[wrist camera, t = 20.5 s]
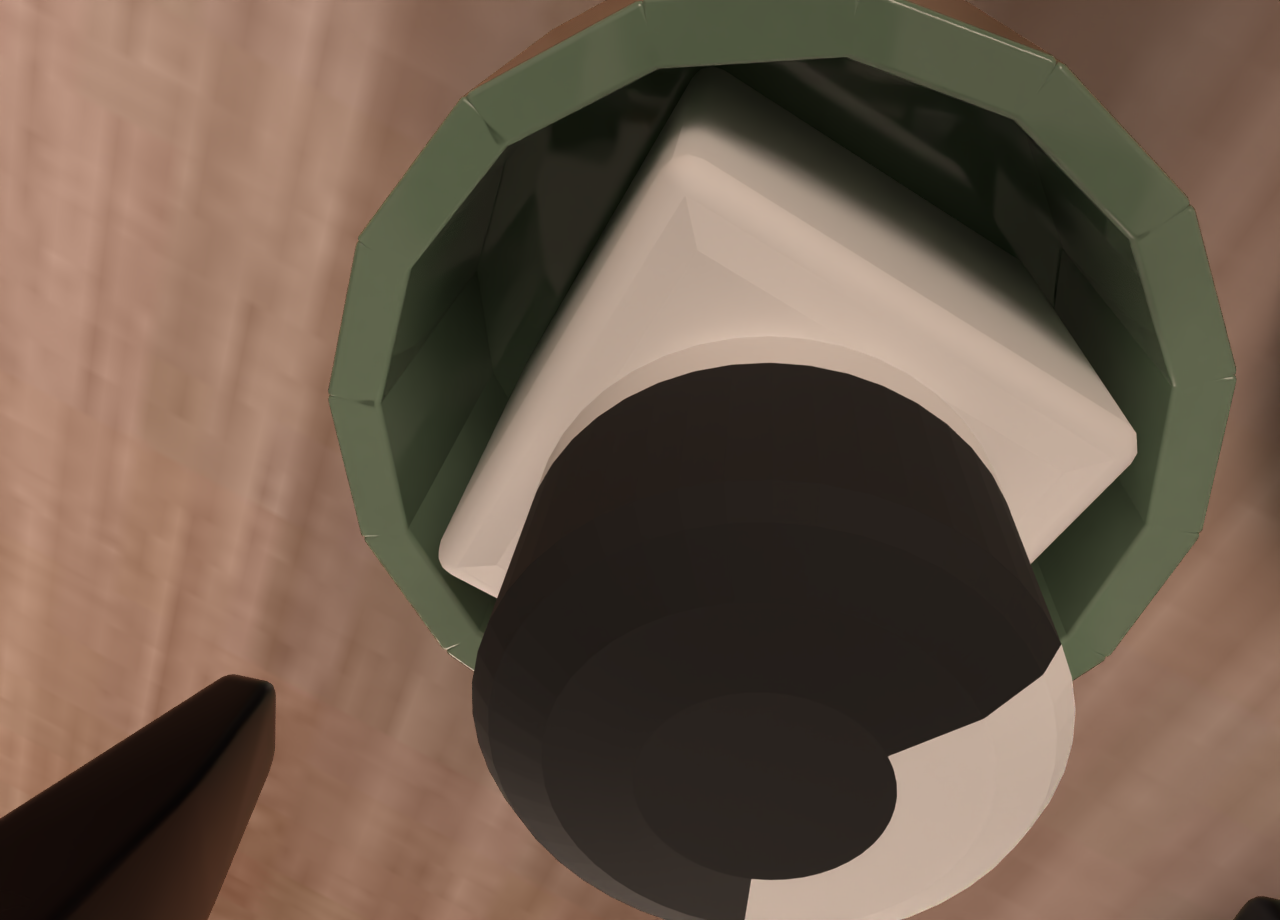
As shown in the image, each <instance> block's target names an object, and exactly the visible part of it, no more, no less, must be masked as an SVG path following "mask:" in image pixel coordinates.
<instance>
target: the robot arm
mask: <svg viewBox="0 0 1280 920" xmlns="http://www.w3.org/2000/svg"><path fill="white" fill-rule="evenodd" d="M275 710H276V695H275V690H274V687H273V685H272V684H271V683H269V682H267V681H263V680H259V679H254V678H249V677H245V676H240V675H235V674H232V675H227V676H224V677H222V678H220V679H218V680H217V681H215V682H214V683H212V684H211V685H209V686H207V687H206V688H204V689H203V690H201V691H200V692H198V693H196V694H195V695H193V696H192V697H190V698H189V699H187V700H185V701H184V702H182V703H181V704H179V705H178V706H176V707H174V708H173V709H171V710H170V711H168V712H167V713H165V714H163V715H162V716H160V717H159V718H157V719H156V720H154V721H153V722H151V723H149V724H148V725H146V726H145V727H143V728H142V729H140V730H138V731H137V732H135V733H134V734H132V735H131V736H129V737H127V738H126V739H124V740H123V741H121V742H120V743H118V744H116V745H115V746H113V747H112V748H110V749H109V750H107V751H105V752H104V753H102V754H101V755H99V756H98V757H96V758H94V759H93V760H91V761H90V762H88V763H87V764H85V765H84V766H82V767H80V768H79V769H77V770H76V771H74V772H73V773H71V774H69V775H68V776H66V777H65V778H63V779H62V780H60V781H58V782H57V783H55V784H54V785H52V786H51V787H49V788H47V789H46V790H44V791H43V792H41V793H40V794H38V795H36V796H35V797H33V798H32V799H30V800H29V801H27V802H25V803H24V804H22V805H21V806H19V807H18V808H16V809H15V810H13V811H11V812H10V813H8V814H7V815H5V816H4V817H2V818H0V920H208V917H209V915H210V913H211V910H212V908H213V906H214V904H215V901H216V899H217V896H218V894H219V891H220V889H221V887H222V884H223V882H224V879H225V877H226V875H227V872H228V870H229V867H230V865H231V863H232V860H233V858H234V855H235V853H236V850H237V848H238V846H239V843H240V841H241V838H242V836H243V834H244V831H245V829H246V826H247V824H248V822H249V819H250V817H251V814H252V812H253V810H254V807H255V805H256V802H257V800H258V797H259V795H260V793H261V790H262V788H263V785H264V783H265V781H266V778H267V776H268V773H269V771H270V767H271V764H272V761H273V756H274V751H275ZM1233 920H1280V900H1279V899H1274V898H1269V897H1265V896H1257V897H1255V898H1252V899H1250V900H1249V901H1248V902H1247V903H1246V904H1245V905H1244V906H1243V907H1242V909H1241V910H1240V911H1239V913H1238V914H1237V915H1236V917H1235V918H1234V919H1233Z"/></svg>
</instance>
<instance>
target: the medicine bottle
mask: <svg viewBox="0 0 1280 920" xmlns="http://www.w3.org/2000/svg"><path fill="white" fill-rule="evenodd" d="M1136 455H1137V436H1136V432H1135V431H1134V429H1133V428H1132V426H1131V425H1130V423H1129V422H1128V420H1127V419H1126V417H1125V416H1124V414H1123V413H1122V411H1121V410H1120V408H1119V407H1118V405H1117V404H1116V402H1115V401H1114V399H1113V398H1112V396H1111V395H1110V393H1109V392H1108V390H1107V389H1106V387H1105V386H1104V384H1103V382H1102V381H1101V379H1100V378H1099V376H1098V375H1097V373H1096V372H1095V370H1094V369H1093V367H1092V366H1091V364H1090V363H1089V361H1088V360H1087V358H1086V357H1085V355H1084V354H1083V352H1082V351H1081V349H1080V348H1079V346H1078V345H1077V343H1076V342H1075V340H1074V339H1073V337H1072V336H1071V334H1070V333H1069V331H1068V330H1067V328H1066V327H1065V325H1064V324H1063V322H1062V321H1061V319H1060V318H1059V316H1058V315H1057V313H1056V312H1055V310H1054V309H1053V307H1052V306H1051V304H1050V303H1049V301H1048V300H1047V298H1046V297H1045V295H1044V294H1043V292H1042V291H1041V289H1040V288H1039V286H1038V285H1037V283H1036V282H1035V280H1034V279H1033V277H1032V276H1031V274H1030V273H1029V271H1028V270H1027V268H1026V267H1025V266H1024V265H1023V263H1022V262H1021V261H1020V260H1018V259H1016V258H1015V257H1013V256H1012V255H1010V254H1009V253H1007V252H1006V251H1004V250H1002V249H1001V248H999V247H998V246H996V245H995V244H993V243H992V242H990V241H989V240H987V239H985V238H984V237H982V236H981V235H979V234H978V233H976V232H975V231H973V230H971V229H970V228H968V227H967V226H965V225H964V224H962V223H961V222H959V221H957V220H956V219H954V218H953V217H951V216H950V215H948V214H947V213H945V212H943V211H942V210H940V209H939V208H937V207H936V206H934V205H933V204H931V203H929V202H928V201H926V200H925V199H923V198H922V197H920V196H919V195H917V194H915V193H914V192H912V191H911V190H909V189H908V188H906V187H905V186H903V185H902V184H900V183H898V182H897V181H895V180H894V179H892V178H891V177H889V176H888V175H886V174H884V173H883V172H881V171H880V170H878V169H877V168H875V167H874V166H872V165H870V164H869V163H867V162H866V161H864V160H863V159H861V158H860V157H858V156H856V155H855V154H853V153H852V152H850V151H849V150H847V149H846V148H844V147H842V146H841V145H839V144H838V143H836V142H835V141H833V140H832V139H830V138H829V137H827V136H825V135H824V134H822V133H821V132H819V131H818V130H816V129H815V128H813V127H811V126H810V125H808V124H807V123H805V122H804V121H802V120H801V119H799V118H797V117H796V116H794V115H793V114H791V113H790V112H788V111H787V110H785V109H783V108H782V107H780V106H779V105H777V104H776V103H774V102H773V101H771V100H769V99H768V98H766V97H765V96H763V95H762V94H760V93H759V92H757V91H755V90H754V89H752V88H751V87H749V86H748V85H746V84H745V83H743V82H742V81H740V80H738V79H737V78H735V77H734V76H732V75H731V74H729V73H728V72H726V71H724V70H723V69H720V68H717V67H713V66H710V67H706V68H702V69H700V70H699V71H698V72H697V73H696V74H695V75H694V76H693V77H692V79H691V81H690V82H689V84H688V86H687V88H686V89H685V91H684V93H683V95H682V96H681V98H680V100H679V101H678V103H677V105H676V107H675V108H674V110H673V112H672V113H671V115H670V117H669V119H668V120H667V122H666V124H665V126H664V127H663V129H662V131H661V132H660V134H659V136H658V138H657V139H656V141H655V143H654V144H653V146H652V148H651V150H650V151H649V153H648V155H647V157H646V158H645V160H644V162H643V163H642V165H641V167H640V169H639V170H638V172H637V174H636V175H635V177H634V179H633V181H632V182H631V184H630V186H629V188H628V189H627V191H626V193H625V194H624V196H623V198H622V200H621V201H620V203H619V205H618V206H617V208H616V210H615V212H614V213H613V215H612V217H611V219H610V220H609V222H608V224H607V225H606V227H605V229H604V231H603V232H602V234H601V236H600V237H599V239H598V241H597V243H596V244H595V246H594V248H593V250H592V251H591V253H590V255H589V256H588V258H587V260H586V262H585V263H584V265H583V267H582V268H581V270H580V272H579V274H578V275H577V277H576V279H575V281H574V282H573V284H572V286H571V287H570V289H569V291H568V293H567V294H566V296H565V298H564V299H563V301H562V303H561V305H560V306H559V308H558V310H557V312H556V313H555V315H554V317H553V318H552V320H551V322H550V324H549V325H548V327H547V329H546V330H545V332H544V334H543V336H542V337H541V339H540V341H539V343H538V344H537V346H536V348H535V349H534V351H533V353H532V355H531V356H530V358H529V360H528V361H527V363H526V365H525V367H524V369H523V372H522V374H521V376H520V378H519V380H518V382H517V384H516V386H515V388H514V390H513V392H512V394H511V396H510V398H509V400H508V403H507V405H506V407H505V409H504V411H503V413H502V415H501V417H500V419H499V421H498V423H497V425H496V427H495V429H494V432H493V434H492V436H491V438H490V440H489V442H488V444H487V446H486V448H485V450H484V452H483V454H482V456H481V458H480V460H479V463H478V465H477V467H476V469H475V471H474V473H473V475H472V477H471V479H470V481H469V483H468V485H467V487H466V489H465V492H464V494H463V496H462V498H461V500H460V502H459V504H458V506H457V508H456V510H455V512H454V514H453V516H452V518H451V521H450V523H449V525H448V527H447V529H446V531H445V533H444V535H443V537H442V539H441V542H440V547H439V560H440V563H441V565H442V567H443V568H444V569H445V570H446V571H447V572H449V573H450V574H451V575H453V576H455V577H457V578H459V579H461V580H463V581H465V582H467V583H469V584H470V585H472V586H474V587H476V588H478V589H480V590H482V591H484V592H486V593H488V594H490V595H492V596H494V597H496V598H497V600H496V603H495V605H494V608H493V611H492V613H491V616H490V619H489V622H488V624H487V627H486V630H485V633H484V635H483V638H482V641H481V643H480V646H479V649H478V652H477V657H476V663H475V669H474V675H473V680H472V704H473V717H474V722H475V727H476V733H477V738H478V743H479V745H480V748H481V751H482V753H483V756H484V758H485V761H486V764H487V766H488V769H489V771H490V773H491V775H492V777H493V778H494V780H495V782H496V784H497V785H498V787H499V789H500V791H501V792H502V794H503V796H504V798H505V799H506V800H507V802H508V803H509V804H510V806H511V807H512V809H513V810H514V811H515V813H516V814H517V815H518V817H519V818H520V819H521V820H522V822H523V823H524V824H525V826H526V827H527V828H528V829H529V831H530V832H531V833H532V835H533V836H534V837H535V838H536V840H537V841H538V842H539V843H541V844H542V845H543V846H544V847H545V848H546V849H547V850H548V851H549V852H550V853H551V854H552V855H553V856H554V857H555V858H556V859H557V860H558V861H559V862H560V863H562V864H563V865H564V866H566V867H567V868H568V869H569V870H571V871H572V872H573V873H575V874H576V875H577V876H579V877H580V878H581V879H582V880H584V881H586V882H587V883H589V884H591V885H592V886H594V887H596V888H597V889H599V890H601V891H602V892H604V893H605V894H607V895H609V896H610V897H612V898H615V899H617V900H619V901H621V902H623V903H625V904H627V905H629V906H632V907H634V908H636V909H638V910H640V911H643V912H645V913H648V914H651V915H654V916H657V917H659V918H662V919H665V920H902V919H905V918H908V917H911V916H913V915H915V914H918V913H920V912H922V911H925V910H927V909H929V908H932V907H934V906H936V905H939V904H941V903H942V902H944V901H946V900H948V899H949V898H951V897H953V896H955V895H956V894H958V893H960V892H961V891H963V890H965V889H967V888H968V887H970V886H971V885H972V884H974V883H975V882H976V881H978V880H979V879H980V878H982V877H983V876H984V875H986V874H987V873H988V872H989V871H991V870H992V869H993V868H995V867H996V866H997V865H998V864H999V863H1000V861H1001V860H1002V859H1003V858H1004V857H1005V856H1006V855H1007V854H1008V853H1009V852H1010V851H1011V850H1012V849H1013V848H1014V847H1015V846H1016V845H1017V844H1018V843H1019V842H1020V840H1021V839H1022V838H1023V837H1024V836H1025V835H1026V833H1027V832H1028V831H1029V830H1030V829H1031V827H1032V826H1033V824H1034V823H1035V822H1036V820H1037V819H1038V818H1039V816H1040V815H1041V813H1042V812H1043V811H1044V809H1045V808H1046V806H1047V805H1048V804H1049V802H1050V800H1051V798H1052V796H1053V794H1054V792H1055V790H1056V788H1057V786H1058V784H1059V782H1060V780H1061V778H1062V776H1063V774H1064V771H1065V768H1066V764H1067V761H1068V757H1069V754H1070V750H1071V747H1072V743H1073V733H1074V722H1075V701H1074V692H1073V683H1072V676H1071V673H1070V670H1069V666H1068V663H1067V660H1066V657H1065V654H1064V651H1063V647H1062V644H1061V642H1060V639H1059V636H1058V634H1057V631H1056V629H1055V626H1054V623H1053V621H1052V618H1051V616H1050V613H1049V610H1048V608H1047V605H1046V603H1045V600H1044V598H1043V595H1042V592H1041V590H1040V587H1039V585H1038V582H1037V579H1036V577H1035V574H1034V572H1033V569H1032V566H1031V563H1032V562H1033V561H1034V560H1035V559H1036V558H1037V557H1038V556H1039V555H1040V554H1041V553H1042V552H1043V551H1044V550H1045V549H1046V548H1047V547H1048V546H1049V545H1050V544H1051V543H1052V542H1053V541H1054V540H1055V539H1056V538H1057V537H1058V536H1059V535H1060V534H1061V533H1062V532H1063V531H1064V530H1065V529H1066V528H1067V527H1068V526H1069V525H1070V524H1071V523H1072V522H1073V521H1074V520H1075V519H1076V518H1077V517H1078V516H1079V515H1080V514H1081V513H1082V512H1083V511H1084V510H1085V509H1086V508H1087V507H1088V506H1089V505H1090V504H1091V503H1092V502H1093V501H1094V500H1095V499H1096V498H1097V497H1098V496H1099V495H1100V494H1101V493H1102V492H1103V491H1104V490H1105V489H1106V488H1107V487H1108V486H1109V485H1110V484H1111V483H1112V482H1113V481H1114V480H1115V479H1116V478H1117V477H1118V476H1119V475H1120V474H1121V473H1122V472H1123V471H1124V470H1125V469H1126V468H1127V467H1128V466H1129V465H1130V464H1131V463H1132V461H1133V460H1134V458H1135V456H1136Z"/></svg>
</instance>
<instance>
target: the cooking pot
mask: <svg viewBox="0 0 1280 920" xmlns="http://www.w3.org/2000/svg"><path fill="white" fill-rule="evenodd" d="M710 66H713V67H717V68H720V69H723V70H724V71H726V72H728V73H729V74H731V75H732V76H734V77H735V78H737V79H738V80H740V81H742V82H743V83H745V84H746V85H748V86H749V87H751V88H752V89H754V90H755V91H757V92H759V93H760V94H762V95H763V96H765V97H766V98H768V99H769V100H771V101H773V102H774V103H776V104H777V105H779V106H780V107H782V108H783V109H785V110H787V111H788V112H790V113H791V114H793V115H794V116H796V117H797V118H799V119H801V120H802V121H804V122H805V123H807V124H808V125H810V126H811V127H813V128H815V129H816V130H818V131H819V132H821V133H822V134H824V135H825V136H827V137H829V138H830V139H832V140H833V141H835V142H836V143H838V144H839V145H841V146H842V147H844V148H846V149H847V150H849V151H850V152H852V153H853V154H855V155H856V156H858V157H860V158H861V159H863V160H864V161H866V162H867V163H869V164H870V165H872V166H874V167H875V168H877V169H878V170H880V171H881V172H883V173H884V174H886V175H888V176H889V177H891V178H892V179H894V180H895V181H897V182H898V183H900V184H902V185H903V186H905V187H906V188H908V189H909V190H911V191H912V192H914V193H915V194H917V195H919V196H920V197H922V198H923V199H925V200H926V201H928V202H929V203H931V204H933V205H934V206H936V207H937V208H939V209H940V210H942V211H943V212H945V213H947V214H948V215H950V216H951V217H953V218H954V219H956V220H957V221H959V222H961V223H962V224H964V225H965V226H967V227H968V228H970V229H971V230H973V231H975V232H976V233H978V234H979V235H981V236H982V237H984V238H985V239H987V240H989V241H990V242H992V243H993V244H995V245H996V246H998V247H999V248H1001V249H1002V250H1004V251H1006V252H1007V253H1009V254H1010V255H1012V256H1013V257H1015V258H1016V259H1018V260H1020V261H1021V262H1022V263H1023V265H1024V266H1025V267H1026V268H1027V270H1028V271H1029V273H1030V274H1031V276H1032V277H1033V279H1034V280H1035V282H1036V283H1037V285H1038V286H1039V288H1040V289H1041V291H1042V292H1043V294H1044V295H1045V297H1046V298H1047V300H1048V301H1049V303H1050V304H1051V306H1052V307H1053V309H1054V310H1055V312H1056V313H1057V315H1058V316H1059V318H1060V319H1061V321H1062V322H1063V324H1064V325H1065V327H1066V328H1067V330H1068V331H1069V333H1070V334H1071V336H1072V337H1073V339H1074V340H1075V342H1076V343H1077V345H1078V346H1079V348H1080V349H1081V351H1082V352H1083V354H1084V355H1085V357H1086V358H1087V360H1088V361H1089V363H1090V364H1091V366H1092V367H1093V369H1094V370H1095V372H1096V373H1097V375H1098V376H1099V378H1100V379H1101V381H1102V382H1103V384H1104V386H1105V387H1106V389H1107V390H1108V392H1109V393H1110V395H1111V396H1112V398H1113V399H1114V401H1115V402H1116V404H1117V405H1118V407H1119V408H1120V410H1121V411H1122V413H1123V414H1124V416H1125V417H1126V419H1127V420H1128V422H1129V423H1130V425H1131V426H1132V428H1133V429H1134V431H1135V432H1136V436H1137V455H1136V456H1135V458H1134V460H1133V461H1132V463H1131V464H1130V465H1129V466H1128V467H1127V468H1126V469H1125V470H1124V471H1123V472H1122V473H1121V474H1120V475H1119V476H1118V477H1117V478H1116V479H1115V480H1114V481H1113V482H1112V483H1111V484H1110V485H1109V486H1108V487H1107V488H1106V489H1105V490H1104V491H1103V492H1102V493H1101V494H1100V495H1099V496H1098V497H1097V498H1096V499H1095V500H1094V501H1093V502H1092V503H1091V504H1090V505H1089V506H1088V507H1087V508H1086V509H1085V510H1084V511H1083V512H1082V513H1081V514H1080V515H1079V516H1078V517H1077V518H1076V519H1075V520H1074V521H1073V522H1072V523H1071V524H1070V525H1069V526H1068V527H1067V528H1066V529H1065V530H1064V531H1063V532H1062V533H1061V534H1060V535H1059V536H1058V537H1057V538H1056V539H1055V540H1054V541H1053V542H1052V543H1051V544H1050V545H1049V546H1048V547H1047V548H1046V549H1045V550H1044V551H1043V552H1042V553H1041V554H1040V555H1039V556H1038V557H1037V558H1036V559H1035V560H1034V561H1033V562H1032V563H1031V566H1032V569H1033V572H1034V574H1035V577H1036V579H1037V582H1038V585H1039V587H1040V590H1041V592H1042V595H1043V598H1044V600H1045V603H1046V605H1047V608H1048V610H1049V613H1050V616H1051V618H1052V621H1053V623H1054V626H1055V629H1056V631H1057V634H1058V636H1059V639H1060V642H1061V644H1062V647H1063V651H1064V654H1065V657H1066V660H1067V663H1068V666H1069V670H1070V673H1071V676H1072V681H1073V680H1075V679H1076V678H1078V677H1080V676H1081V675H1083V674H1084V673H1086V672H1087V671H1089V670H1090V669H1092V668H1094V667H1095V666H1097V665H1098V664H1100V663H1101V662H1103V661H1104V660H1105V657H1108V656H1110V655H1111V654H1112V652H1113V651H1114V650H1115V648H1116V647H1117V646H1118V644H1119V643H1120V642H1121V640H1122V639H1123V638H1124V636H1125V635H1126V634H1127V632H1128V631H1129V630H1130V628H1131V627H1132V626H1133V624H1134V623H1135V622H1136V620H1137V619H1138V618H1139V616H1140V615H1141V614H1142V612H1143V611H1144V610H1145V608H1146V607H1147V606H1148V604H1149V603H1150V602H1151V600H1152V599H1153V598H1154V596H1155V595H1156V594H1157V592H1158V591H1159V590H1160V588H1161V587H1162V586H1163V584H1164V583H1165V582H1166V580H1167V579H1168V578H1169V576H1170V575H1171V574H1172V572H1173V571H1174V570H1175V568H1176V567H1177V566H1178V564H1179V563H1180V562H1181V561H1182V559H1183V558H1184V557H1185V555H1186V554H1187V553H1188V551H1189V550H1190V549H1191V547H1192V546H1193V545H1194V543H1195V542H1196V541H1197V539H1198V537H1199V533H1200V532H1201V531H1202V529H1203V524H1204V520H1205V516H1206V511H1207V507H1208V503H1209V498H1210V494H1211V489H1212V485H1213V481H1214V476H1215V472H1216V467H1217V463H1218V459H1219V454H1220V450H1221V446H1222V441H1223V437H1224V432H1225V428H1226V424H1227V419H1228V415H1229V411H1230V406H1231V402H1232V397H1233V393H1234V389H1235V384H1236V376H1235V374H1236V366H1235V362H1234V358H1233V354H1232V350H1231V346H1230V342H1229V339H1228V335H1227V331H1226V327H1225V323H1224V319H1223V315H1222V312H1221V308H1220V304H1219V300H1218V296H1217V292H1216V288H1215V285H1214V281H1213V277H1212V273H1211V269H1210V265H1209V261H1208V257H1207V254H1206V250H1205V246H1204V242H1203V238H1202V234H1201V230H1200V227H1199V223H1198V219H1197V215H1196V211H1195V209H1194V207H1193V206H1192V205H1190V204H1189V199H1188V197H1187V196H1186V194H1185V193H1184V192H1183V191H1182V190H1181V189H1180V188H1179V187H1178V186H1177V185H1176V184H1175V183H1174V181H1173V180H1172V179H1171V178H1170V177H1169V176H1168V175H1167V174H1166V173H1165V172H1164V171H1163V170H1162V168H1161V167H1160V166H1159V165H1158V164H1157V163H1156V162H1155V161H1154V160H1153V159H1152V158H1151V156H1150V155H1149V154H1148V153H1147V152H1146V151H1145V150H1144V149H1143V148H1142V147H1141V146H1140V145H1139V143H1138V142H1137V141H1136V140H1135V139H1134V138H1133V137H1132V136H1131V135H1130V134H1129V133H1128V132H1127V130H1126V129H1125V128H1124V127H1123V126H1122V125H1121V124H1120V123H1119V122H1118V121H1117V120H1116V119H1115V117H1114V116H1113V115H1112V114H1111V113H1110V112H1109V111H1108V110H1107V109H1106V108H1105V107H1104V105H1103V104H1102V103H1101V102H1100V101H1099V100H1098V99H1097V98H1096V97H1095V96H1094V95H1093V94H1092V92H1091V91H1090V90H1089V89H1088V88H1087V87H1086V86H1085V85H1084V84H1083V83H1082V82H1081V81H1080V79H1079V78H1078V77H1077V76H1076V75H1075V74H1074V73H1073V72H1072V71H1071V70H1070V69H1069V68H1068V66H1067V65H1066V64H1064V63H1063V62H1061V61H1060V60H1058V59H1057V58H1055V57H1053V55H1051V54H1049V53H1048V52H1046V51H1045V50H1043V49H1042V48H1040V47H1038V46H1037V45H1035V44H1034V43H1032V42H1031V41H1029V40H1027V39H1026V38H1024V37H1023V36H1021V35H1019V34H1018V33H1016V32H1015V31H1013V30H1012V29H1010V28H1008V27H1007V26H1005V25H1004V24H1002V23H1001V22H999V21H997V20H996V19H994V18H993V17H991V16H989V15H988V14H986V13H985V12H983V11H982V10H980V9H978V8H977V7H975V6H974V5H972V4H971V3H969V2H967V1H965V0H605V1H603V2H602V3H600V4H598V5H596V6H594V7H592V8H591V9H589V10H587V11H585V12H583V13H582V14H580V15H578V16H576V17H574V18H572V19H571V20H569V21H567V22H565V23H563V24H561V25H560V26H558V27H556V28H554V29H552V30H551V31H550V32H548V33H547V34H546V35H544V36H543V37H542V38H540V39H539V40H537V41H536V42H535V43H533V44H532V45H531V46H529V47H528V48H527V49H525V50H524V51H523V52H521V53H520V54H519V55H517V56H516V57H515V58H513V59H512V60H511V61H509V62H508V63H507V64H505V65H504V66H502V67H501V68H500V69H498V70H497V71H496V72H494V73H493V74H492V75H490V76H489V77H488V78H486V79H485V80H484V81H482V82H481V83H480V84H478V85H477V86H476V87H474V88H473V89H472V90H470V91H469V92H468V93H467V94H465V95H464V96H463V97H461V98H460V99H459V101H458V102H457V104H456V105H455V106H454V108H453V109H452V110H451V112H450V113H449V114H448V116H447V117H446V118H445V120H444V121H443V123H442V124H441V125H440V127H439V128H438V129H437V131H436V132H435V133H434V135H433V136H432V137H431V139H430V140H429V141H428V143H427V144H426V146H425V147H424V148H423V150H422V151H421V152H420V154H419V155H418V156H417V158H416V159H415V160H414V162H413V163H412V164H411V166H410V167H409V169H408V170H407V171H406V173H405V174H404V175H403V177H402V178H401V179H400V181H399V182H398V183H397V185H396V186H395V187H394V189H393V190H392V192H391V193H390V194H389V196H388V197H387V198H386V200H385V201H384V202H383V204H382V205H381V206H380V208H379V209H378V211H377V212H376V213H375V215H374V216H373V217H372V219H371V220H370V221H369V223H368V224H367V225H366V227H365V228H364V229H363V231H362V232H361V234H360V235H359V237H358V240H359V241H358V242H357V243H356V247H355V252H354V257H353V263H352V268H351V273H350V278H349V284H348V289H347V294H346V299H345V304H344V310H343V315H342V320H341V325H340V331H339V336H338V341H337V346H336V352H335V357H334V362H333V367H332V373H331V378H330V383H329V388H328V393H329V398H328V401H329V405H330V409H331V413H332V417H333V421H334V425H335V429H336V433H337V437H338V441H339V446H340V450H341V454H342V458H343V462H344V466H345V470H346V474H347V478H348V482H349V486H350V490H351V494H352V498H353V503H354V507H355V511H356V515H357V519H358V523H359V527H360V531H361V535H362V536H364V537H365V542H366V543H367V544H368V546H369V547H370V549H371V550H372V551H373V553H374V554H375V556H376V557H377V558H378V560H379V561H380V562H381V564H382V565H383V567H384V568H385V569H386V571H387V572H388V574H389V575H390V576H391V578H392V579H393V580H394V582H395V583H396V585H397V586H398V587H399V589H400V590H401V592H402V593H403V594H404V596H405V597H406V598H407V600H408V601H409V603H410V604H411V605H412V607H413V608H414V610H415V611H416V612H417V614H418V615H419V616H420V618H421V619H422V621H423V622H424V623H425V625H426V626H427V628H428V629H429V630H430V632H431V633H432V634H433V636H434V637H435V639H436V640H437V641H438V643H439V644H440V646H441V647H442V648H443V649H445V650H447V652H448V654H449V655H451V656H452V657H453V658H455V659H456V660H458V661H459V662H461V663H462V664H463V665H465V666H466V667H468V668H469V669H471V670H472V671H473V672H474V669H475V663H476V657H477V652H478V649H479V646H480V643H481V641H482V638H483V635H484V633H485V630H486V627H487V624H488V622H489V619H490V616H491V613H492V611H493V608H494V605H495V603H496V600H497V598H496V597H494V596H492V595H490V594H488V593H486V592H484V591H482V590H480V589H478V588H476V587H474V586H472V585H470V584H469V583H467V582H465V581H463V580H461V579H459V578H457V577H455V576H453V575H451V574H450V573H449V572H447V571H446V570H445V569H444V568H443V567H442V565H441V563H440V560H439V547H440V542H441V539H442V537H443V535H444V533H445V531H446V529H447V527H448V525H449V523H450V521H451V518H452V516H453V514H454V512H455V510H456V508H457V506H458V504H459V502H460V500H461V498H462V496H463V494H464V492H465V489H466V487H467V485H468V483H469V481H470V479H471V477H472V475H473V473H474V471H475V469H476V467H477V465H478V463H479V460H480V458H481V456H482V454H483V452H484V450H485V448H486V446H487V444H488V442H489V440H490V438H491V436H492V434H493V432H494V429H495V427H496V425H497V423H498V421H499V419H500V417H501V415H502V413H503V411H504V409H505V407H506V405H507V403H508V400H509V398H510V396H511V394H512V392H513V390H514V388H515V386H516V384H517V382H518V380H519V378H520V376H521V374H522V372H523V369H524V367H525V365H526V363H527V361H528V360H529V358H530V356H531V355H532V353H533V351H534V349H535V348H536V346H537V344H538V343H539V341H540V339H541V337H542V336H543V334H544V332H545V330H546V329H547V327H548V325H549V324H550V322H551V320H552V318H553V317H554V315H555V313H556V312H557V310H558V308H559V306H560V305H561V303H562V301H563V299H564V298H565V296H566V294H567V293H568V291H569V289H570V287H571V286H572V284H573V282H574V281H575V279H576V277H577V275H578V274H579V272H580V270H581V268H582V267H583V265H584V263H585V262H586V260H587V258H588V256H589V255H590V253H591V251H592V250H593V248H594V246H595V244H596V243H597V241H598V239H599V237H600V236H601V234H602V232H603V231H604V229H605V227H606V225H607V224H608V222H609V220H610V219H611V217H612V215H613V213H614V212H615V210H616V208H617V206H618V205H619V203H620V201H621V200H622V198H623V196H624V194H625V193H626V191H627V189H628V188H629V186H630V184H631V182H632V181H633V179H634V177H635V175H636V174H637V172H638V170H639V169H640V167H641V165H642V163H643V162H644V160H645V158H646V157H647V155H648V153H649V151H650V150H651V148H652V146H653V144H654V143H655V141H656V139H657V138H658V136H659V134H660V132H661V131H662V129H663V127H664V126H665V124H666V122H667V120H668V119H669V117H670V115H671V113H672V112H673V110H674V108H675V107H676V105H677V103H678V101H679V100H680V98H681V96H682V95H683V93H684V91H685V89H686V88H687V86H688V84H689V82H690V81H691V79H692V77H693V76H694V75H695V74H696V73H697V72H698V71H699V70H700V69H702V68H706V67H710Z"/></svg>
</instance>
